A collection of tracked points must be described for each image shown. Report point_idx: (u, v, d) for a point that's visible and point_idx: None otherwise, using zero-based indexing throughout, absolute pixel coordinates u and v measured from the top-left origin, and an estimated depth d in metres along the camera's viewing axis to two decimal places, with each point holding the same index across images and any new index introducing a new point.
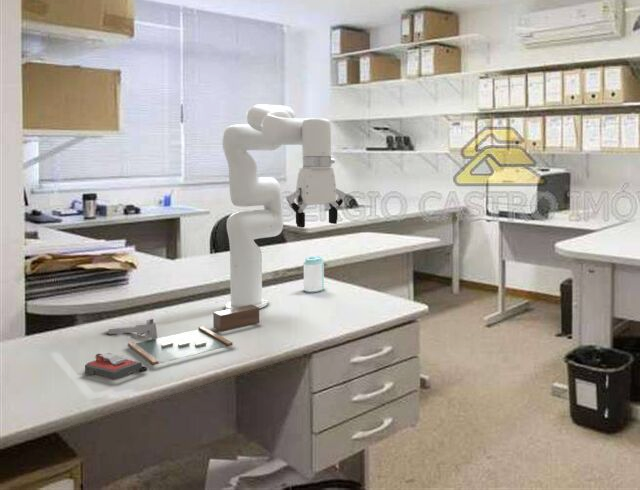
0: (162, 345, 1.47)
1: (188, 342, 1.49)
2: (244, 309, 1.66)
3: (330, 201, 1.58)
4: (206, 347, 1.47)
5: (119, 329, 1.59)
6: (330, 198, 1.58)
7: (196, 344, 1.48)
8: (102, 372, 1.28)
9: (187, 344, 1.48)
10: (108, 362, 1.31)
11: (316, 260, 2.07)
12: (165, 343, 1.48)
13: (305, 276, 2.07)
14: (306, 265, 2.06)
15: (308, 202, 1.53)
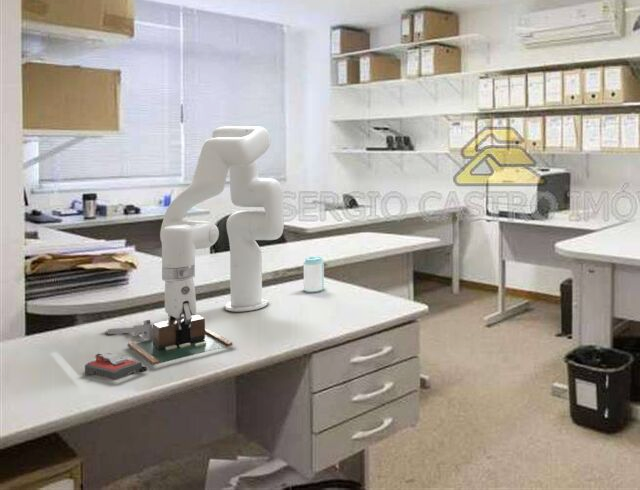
0: (166, 348, 1.45)
1: (189, 343, 1.48)
2: None
3: (174, 316, 1.47)
4: (206, 347, 1.47)
5: (118, 329, 1.59)
6: (174, 313, 1.47)
7: (196, 344, 1.48)
8: (102, 372, 1.28)
9: (188, 345, 1.48)
10: (108, 362, 1.31)
11: (316, 260, 2.07)
12: (169, 346, 1.46)
13: (305, 276, 2.07)
14: (306, 265, 2.06)
15: (165, 310, 1.51)
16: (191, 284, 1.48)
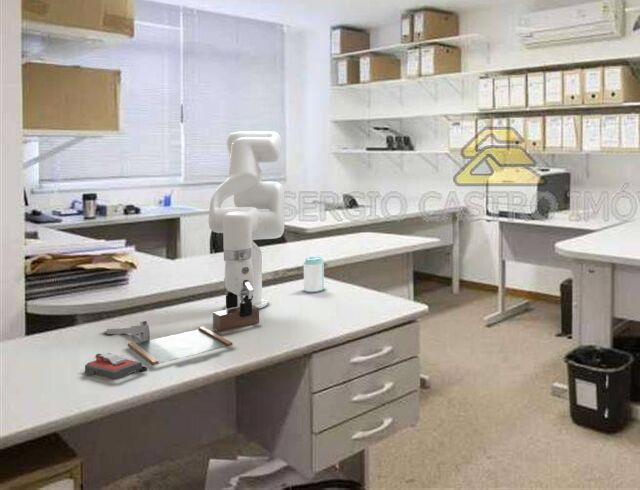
0: None
1: None
2: None
3: (235, 293, 1.63)
4: (206, 347, 1.47)
5: (116, 329, 1.58)
6: (235, 291, 1.63)
7: None
8: (103, 372, 1.28)
9: None
10: (108, 362, 1.31)
11: (316, 260, 2.07)
12: None
13: (305, 276, 2.07)
14: (306, 265, 2.06)
15: (226, 288, 1.68)
16: (250, 265, 1.64)
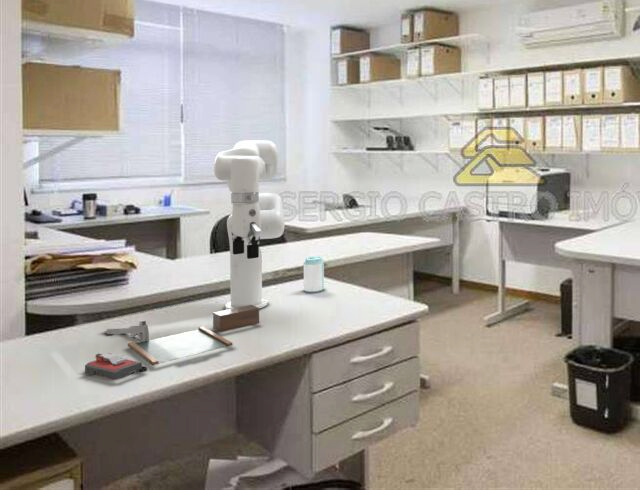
0: None
1: None
2: (244, 309, 1.65)
3: (243, 236, 1.66)
4: (206, 347, 1.47)
5: (116, 329, 1.58)
6: (242, 233, 1.66)
7: None
8: (103, 372, 1.28)
9: None
10: (108, 362, 1.31)
11: (316, 260, 2.07)
12: None
13: (305, 276, 2.07)
14: (306, 265, 2.06)
15: (233, 233, 1.71)
16: (257, 208, 1.68)
